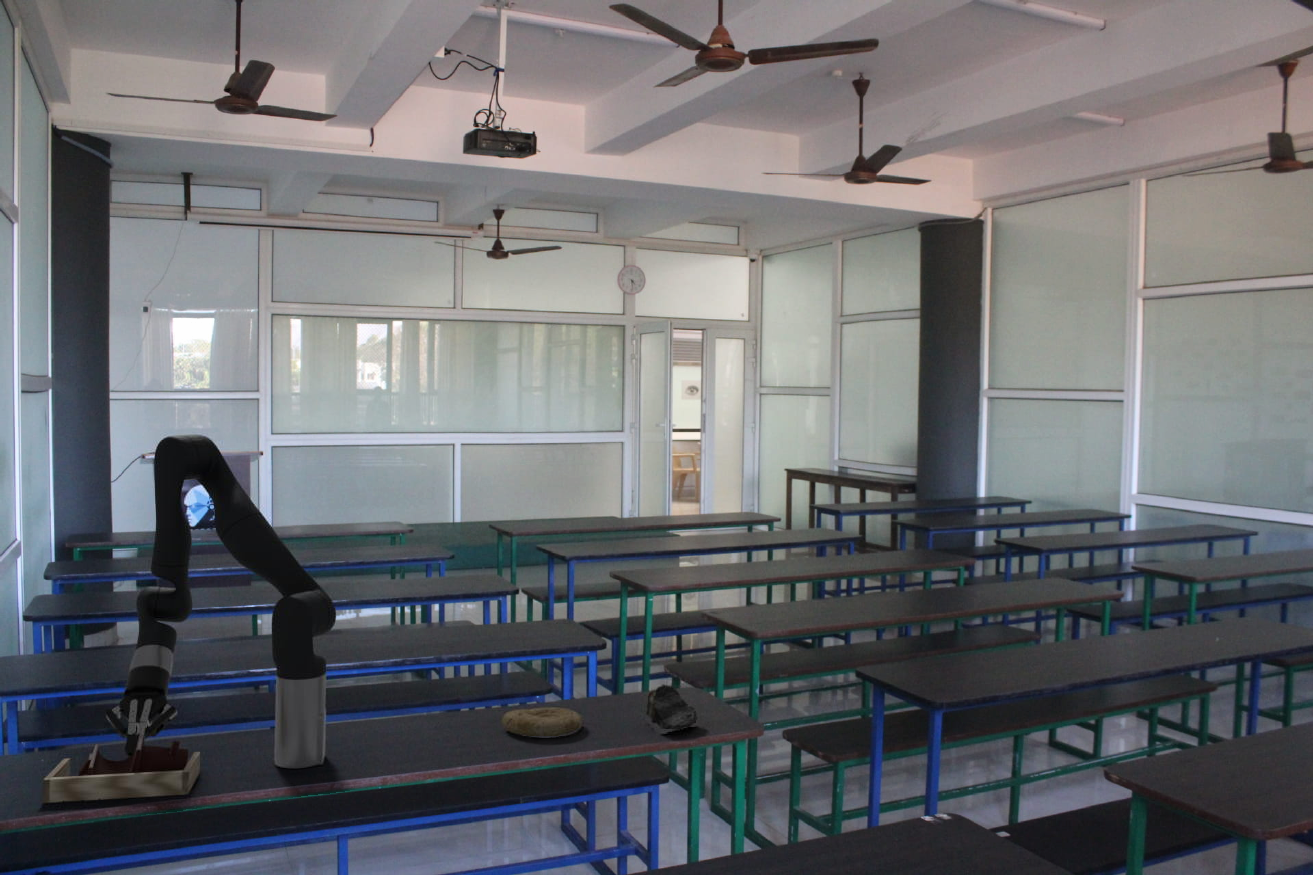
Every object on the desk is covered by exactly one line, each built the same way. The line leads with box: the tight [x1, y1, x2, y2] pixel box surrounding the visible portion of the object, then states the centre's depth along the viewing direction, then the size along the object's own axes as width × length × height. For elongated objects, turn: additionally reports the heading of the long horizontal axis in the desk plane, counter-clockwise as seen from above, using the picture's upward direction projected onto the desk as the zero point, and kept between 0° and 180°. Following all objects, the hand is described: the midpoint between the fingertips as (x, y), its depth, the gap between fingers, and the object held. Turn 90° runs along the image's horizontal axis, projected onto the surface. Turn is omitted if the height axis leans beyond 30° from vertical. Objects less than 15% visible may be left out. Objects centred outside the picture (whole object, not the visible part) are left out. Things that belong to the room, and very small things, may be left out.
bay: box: [42, 751, 201, 804], centre depth 181 cm, size 23×11×4 cm, turn 104°
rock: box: [645, 684, 699, 730], centre depth 226 cm, size 14×11×10 cm
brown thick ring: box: [501, 706, 584, 736], centre depth 221 cm, size 17×15×5 cm
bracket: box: [77, 727, 190, 776], centre depth 183 cm, size 6×17×10 cm, turn 115°
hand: (132, 756), depth 186 cm, fingers closed
